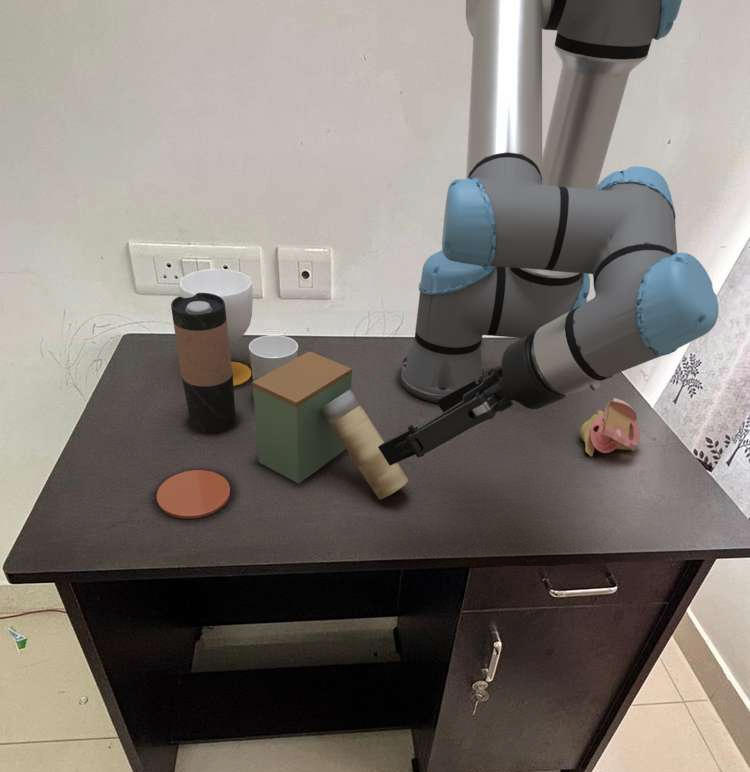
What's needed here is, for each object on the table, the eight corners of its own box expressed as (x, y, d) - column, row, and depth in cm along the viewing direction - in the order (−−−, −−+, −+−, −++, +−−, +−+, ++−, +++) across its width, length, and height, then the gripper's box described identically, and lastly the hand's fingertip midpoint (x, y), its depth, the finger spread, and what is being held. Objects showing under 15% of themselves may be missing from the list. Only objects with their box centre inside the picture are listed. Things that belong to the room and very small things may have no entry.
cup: (179, 381, 111) (163, 287, 100) (216, 353, 120) (206, 263, 109) (236, 398, 108) (227, 302, 97) (271, 368, 117) (265, 277, 106)
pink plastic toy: (560, 448, 103) (580, 393, 104) (603, 470, 107) (622, 417, 108) (600, 450, 95) (622, 391, 95) (645, 473, 99) (666, 417, 99)
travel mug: (226, 437, 99) (212, 317, 86) (181, 430, 100) (160, 310, 87) (244, 412, 105) (233, 296, 92) (200, 405, 106) (184, 289, 93)
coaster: (209, 464, 94) (209, 461, 94) (243, 500, 88) (243, 497, 88) (145, 489, 89) (144, 486, 89) (177, 529, 83) (176, 526, 83)
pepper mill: (412, 495, 91) (421, 411, 82) (393, 513, 88) (400, 428, 79) (336, 458, 97) (336, 376, 88) (315, 473, 94) (313, 391, 85)
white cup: (280, 416, 105) (277, 362, 98) (243, 401, 108) (238, 347, 101) (308, 396, 110) (307, 344, 103) (272, 382, 113) (269, 330, 106)
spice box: (349, 446, 99) (352, 368, 90) (298, 484, 92) (296, 402, 83) (310, 428, 103) (309, 350, 94) (258, 462, 95) (252, 381, 86)
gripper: (517, 449, 58) (374, 504, 74) (611, 351, 74) (477, 414, 90) (475, 378, 56) (339, 450, 72) (580, 295, 72) (450, 369, 88)
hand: (415, 430), depth 81 cm, fingers open, 13 cm apart
